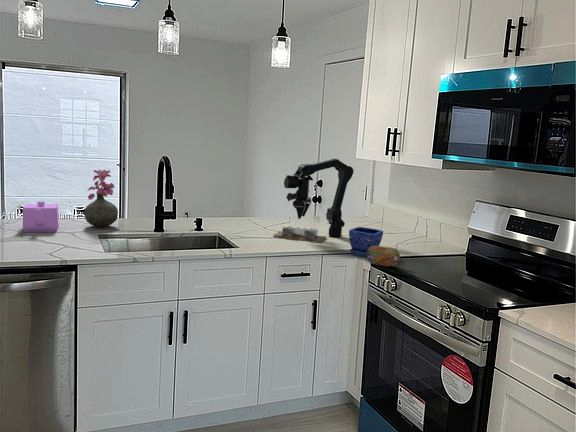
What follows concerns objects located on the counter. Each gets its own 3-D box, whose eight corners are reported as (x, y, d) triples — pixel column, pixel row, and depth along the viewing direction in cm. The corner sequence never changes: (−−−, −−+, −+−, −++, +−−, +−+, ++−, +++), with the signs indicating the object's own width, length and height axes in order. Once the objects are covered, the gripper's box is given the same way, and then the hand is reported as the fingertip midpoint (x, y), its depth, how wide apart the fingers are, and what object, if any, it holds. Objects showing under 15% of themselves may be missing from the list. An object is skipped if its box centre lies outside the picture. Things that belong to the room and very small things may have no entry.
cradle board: (325, 238, 291) (326, 229, 290) (321, 242, 279) (322, 233, 278) (279, 233, 297) (279, 224, 296) (273, 237, 285) (273, 227, 285)
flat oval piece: (365, 262, 243) (366, 244, 241) (367, 261, 245) (369, 243, 244) (397, 268, 236) (399, 249, 234) (399, 267, 239) (401, 248, 237)
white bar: (317, 234, 288) (317, 228, 287) (315, 235, 284) (316, 229, 283) (284, 230, 292) (285, 224, 291) (282, 231, 288) (283, 226, 287)
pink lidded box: (21, 234, 254) (20, 205, 252) (27, 224, 277) (26, 197, 275) (55, 234, 259) (55, 205, 257) (59, 224, 282) (59, 198, 280)
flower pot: (382, 254, 262) (384, 230, 260) (372, 259, 250) (374, 234, 248) (357, 249, 268) (359, 226, 266) (346, 254, 257) (348, 229, 255)
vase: (108, 231, 274) (108, 172, 269) (76, 228, 276) (76, 169, 272) (123, 225, 290) (123, 170, 285) (92, 222, 293) (93, 167, 288)
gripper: (292, 185, 295) (290, 213, 297) (284, 188, 277) (282, 218, 279) (312, 187, 292) (310, 215, 295) (305, 190, 274) (303, 220, 277)
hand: (301, 217), depth 287 cm, fingers open, 9 cm apart
